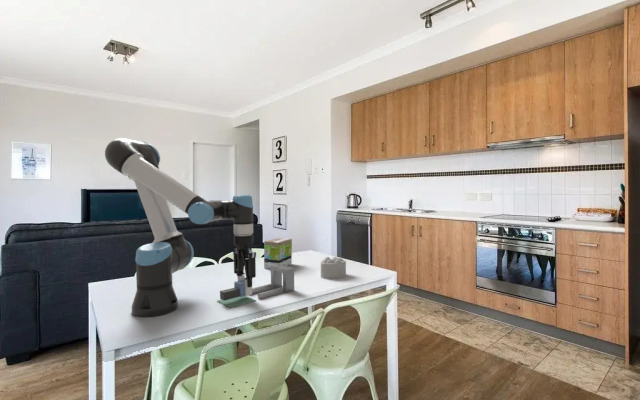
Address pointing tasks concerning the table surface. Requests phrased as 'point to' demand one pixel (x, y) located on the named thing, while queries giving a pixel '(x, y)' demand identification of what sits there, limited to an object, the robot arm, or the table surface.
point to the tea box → (277, 252)
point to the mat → (236, 301)
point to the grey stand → (277, 282)
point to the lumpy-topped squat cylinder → (333, 268)
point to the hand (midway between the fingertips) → (245, 293)
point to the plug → (234, 291)
